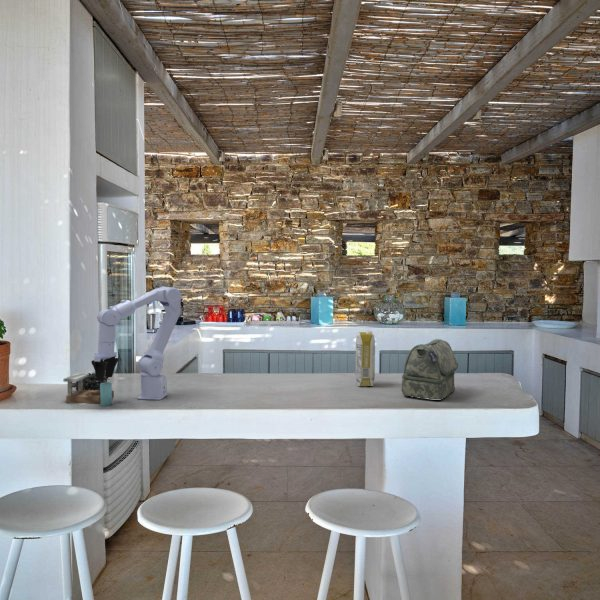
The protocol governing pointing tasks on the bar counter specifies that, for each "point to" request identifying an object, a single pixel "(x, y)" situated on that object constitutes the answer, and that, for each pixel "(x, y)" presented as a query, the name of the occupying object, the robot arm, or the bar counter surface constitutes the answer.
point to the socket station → (82, 391)
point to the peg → (106, 393)
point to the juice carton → (365, 358)
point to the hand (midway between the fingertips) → (104, 378)
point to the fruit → (91, 382)
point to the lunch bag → (429, 370)
